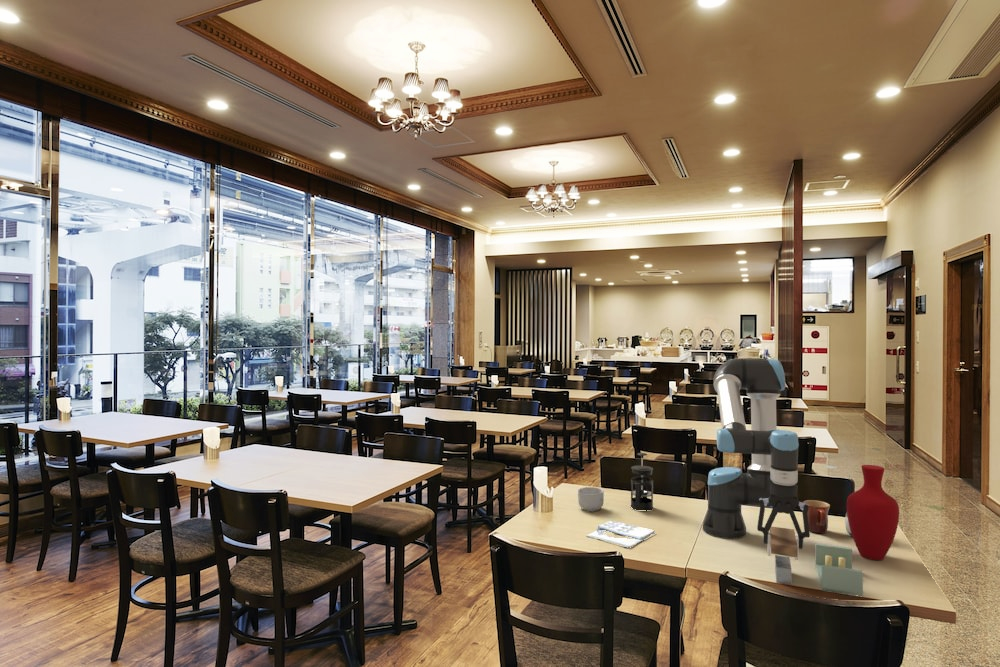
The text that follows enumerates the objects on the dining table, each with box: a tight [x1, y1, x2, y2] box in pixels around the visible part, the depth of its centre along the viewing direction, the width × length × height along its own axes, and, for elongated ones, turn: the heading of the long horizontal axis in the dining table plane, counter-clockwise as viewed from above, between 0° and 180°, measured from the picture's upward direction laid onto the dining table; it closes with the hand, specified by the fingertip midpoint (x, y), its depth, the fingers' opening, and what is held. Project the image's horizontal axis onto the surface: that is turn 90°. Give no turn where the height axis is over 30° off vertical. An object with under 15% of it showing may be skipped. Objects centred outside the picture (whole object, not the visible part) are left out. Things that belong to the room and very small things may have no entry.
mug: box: [803, 499, 831, 535], centre depth 218 cm, size 12×9×10 cm
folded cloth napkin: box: [585, 520, 655, 549], centre depth 215 cm, size 19×20×2 cm
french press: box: [630, 452, 654, 512], centre depth 246 cm, size 12×9×23 cm
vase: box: [846, 464, 900, 561], centre depth 195 cm, size 15×15×30 cm
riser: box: [774, 554, 792, 585], centre depth 179 cm, size 4×10×4 cm, turn 157°
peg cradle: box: [814, 542, 864, 597], centre depth 177 cm, size 10×20×7 cm, turn 157°
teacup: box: [577, 485, 605, 512], centre depth 247 cm, size 14×11×8 cm
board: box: [769, 526, 798, 558], centre depth 180 cm, size 7×15×3 cm, turn 157°
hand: (782, 556), depth 180 cm, fingers closed on board, 7 cm apart
